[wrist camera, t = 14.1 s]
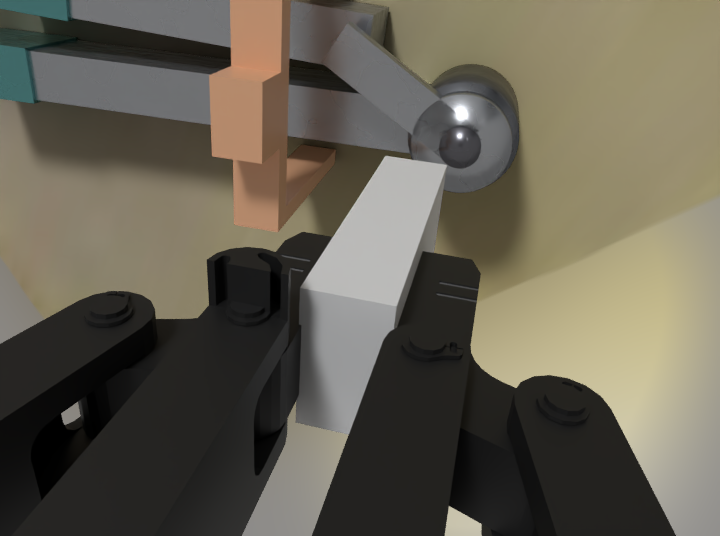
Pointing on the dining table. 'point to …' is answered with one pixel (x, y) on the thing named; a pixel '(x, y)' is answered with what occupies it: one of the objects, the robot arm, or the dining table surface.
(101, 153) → the dining table surface
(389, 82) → the block
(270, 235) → the dining table surface
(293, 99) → the ball-hinged grey bar
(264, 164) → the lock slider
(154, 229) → the dining table surface
